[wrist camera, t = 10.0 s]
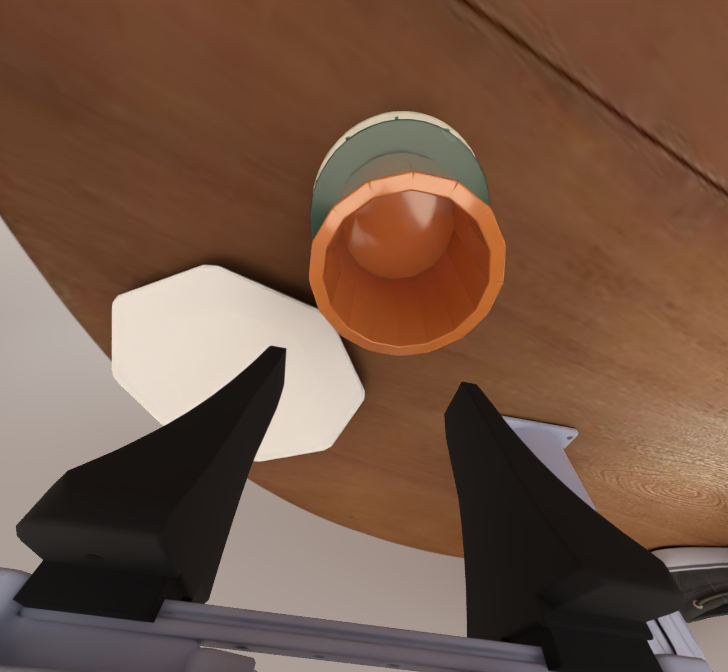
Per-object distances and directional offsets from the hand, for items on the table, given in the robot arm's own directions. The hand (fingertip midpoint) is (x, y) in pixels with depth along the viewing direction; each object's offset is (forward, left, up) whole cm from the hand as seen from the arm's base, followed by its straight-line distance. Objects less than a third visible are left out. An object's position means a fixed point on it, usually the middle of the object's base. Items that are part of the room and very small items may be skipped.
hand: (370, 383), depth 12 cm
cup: (+5, 0, -4) cm, 7 cm away
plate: (-11, +9, -10) cm, 18 cm away
